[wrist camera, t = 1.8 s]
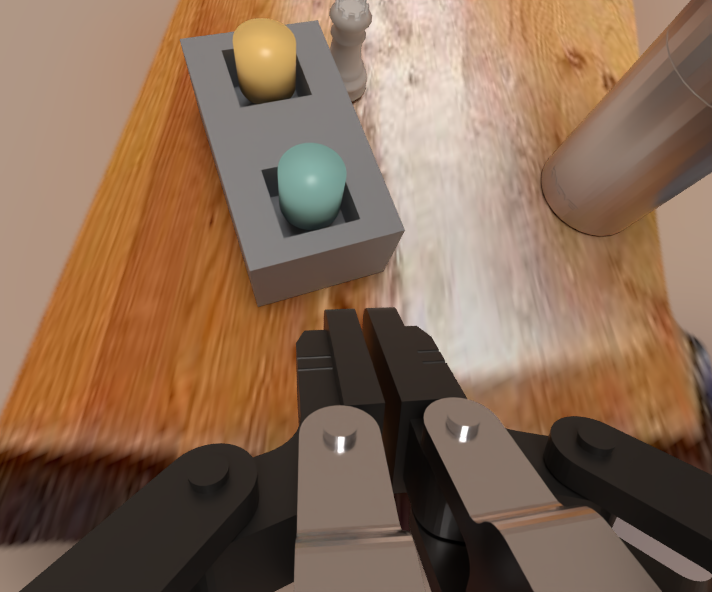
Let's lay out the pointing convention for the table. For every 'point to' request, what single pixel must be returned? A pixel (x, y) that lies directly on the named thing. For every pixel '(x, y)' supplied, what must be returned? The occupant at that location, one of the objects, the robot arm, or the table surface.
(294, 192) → the teal button
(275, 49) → the amber button
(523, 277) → the table surface
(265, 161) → the console
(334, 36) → the rook chess piece
